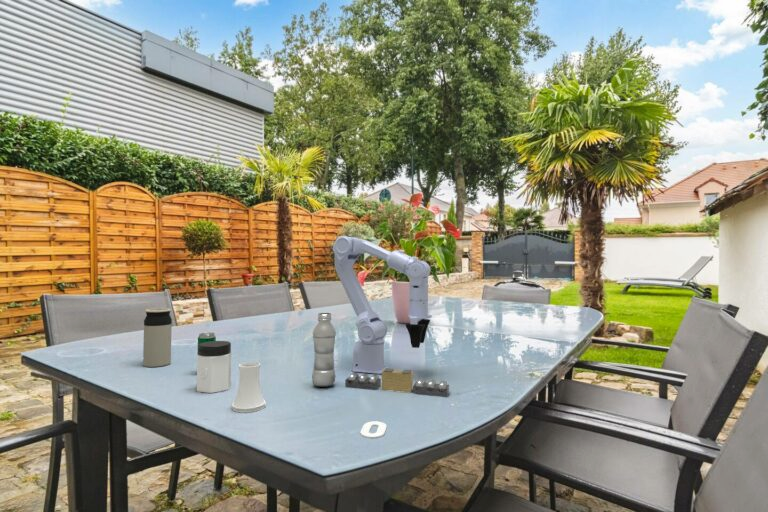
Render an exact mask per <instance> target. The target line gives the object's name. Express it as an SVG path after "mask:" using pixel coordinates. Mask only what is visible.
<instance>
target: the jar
mask: <svg viewBox="0 0 768 512" xmlns="http://www.w3.org/2000/svg"><path fill="white" fill-rule="evenodd" d="M231 348H232V342H230V341H227V340H216V341H210V342H204V343H200V344H199V346H198V345H197V352H198V354H199V355H198V356H196V358H197V359H196V363H197V364H196V365H197V367H196V368H197V369H196V392H198V393H205V394H206V393H208V394H214V393H220V392H224V391H228V390H229V388H230V386H231V385H232V383H231V382H232V381H231V378H232V349H231Z"/></svg>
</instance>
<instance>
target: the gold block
mask: <svg viewBox="0 0 768 512" xmlns="http://www.w3.org/2000/svg"><path fill="white" fill-rule="evenodd" d="M413 385H414V371H412V370H411V369H403V370H401V369H400V370H399V369H394V368H390V367H389V368H388V367H387V368H386V369H384V370H383V371H382V373H381V391H387V390H393V391H392V392H397V391H404V392H403V393H407V392H411V391H412V392H413ZM412 392H411V393H412Z"/></svg>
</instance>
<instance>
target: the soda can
mask: <svg viewBox="0 0 768 512" xmlns="http://www.w3.org/2000/svg"><path fill="white" fill-rule="evenodd" d="M216 339H217V338H216V335H215V332H201V333H199V334H198V337H197V347H198V346H199V344H200V343H204V342H210V341H217V340H216ZM196 355H197V356H198V355H199V354H198V351H197V354H196ZM197 356H196V357H197Z"/></svg>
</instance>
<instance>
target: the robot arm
mask: <svg viewBox="0 0 768 512" xmlns="http://www.w3.org/2000/svg"><path fill="white" fill-rule="evenodd" d="M332 251H333V252H334V253H333V254H334V269H335V271H336V273H337V276H338V278H339V281H340V282H341V285H342V287H343V288H344V291H345V294H346V295H347V298H348V299H349V301H350V302H349V303H350V304H351V306H352V308H353V311H354V313H355V316H356V322H355V324H356V327H357V334H358V338H359V340H360V341H356V342H355V343H354V345H353V351H352V356H353V357H352V370H351V371H352V372H353V373H363V374H374V375H375V374H376V375H380V374H381V375H382V371H383V370H384V369H386V368H388V366H385V364H384V362H385V359H384V358H385V340H384V337H386V335H387V333H388V326H387V324H386V322H385V321H383V320H382V319H381V317H380V316H379V314H378V313H377V312H376V311H374V310H373V308H372V306H371V304H370V302H369V300H368V297H367V295H366V293H365V291H364V289H363V286H362V285H361V283H360V281H359V279H358V277H357V274H356V272H355V270H354V265H355V263H356V261H357V259H358V258H359V257H360V256H361V255H362V254H368V255H370V256H374V257H375V258H378V259H380V260H383V261H385V262H386V263H387V264H386V265H387V266H388V267H389V268H390V269H393V270H395V271H397V272H399V273H402V274H403V275H407V277H408V278H409V285H408V286H409V287H408V288H409V291H408V293H409V295H408V297H409V299H408V307H409V308H408V316H407V317H408V318H409V321H410V322H406V323H405V327H406V329H407V332H408V336H409V340H410V343H411V344H410V345H411V348H413V349H417V348H418V349H419V348H420V345H421V344H424V342H425V338H426V335H427V330H428V326H429V324H430V323H431V318H432V317H433V316H432V314H429V278H428V277H429V276H430V274H431V267H430V265H429V263H427V262H426V261H425V260H418V257H416V256H411V255H408V254H406V253H405V251H404V250H402V249H399V250H397V249H396V250H393V251H389V250H388V249H386V248H383V247H381V246H379V245H377V244H376V243H373V242H371V241H369V240H366V239H363V238H359V237H356V236H354V237H353V236H347V235H340V236H338V237H337V238H336V240H335V241H334V243H333V246H332Z"/></svg>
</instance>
